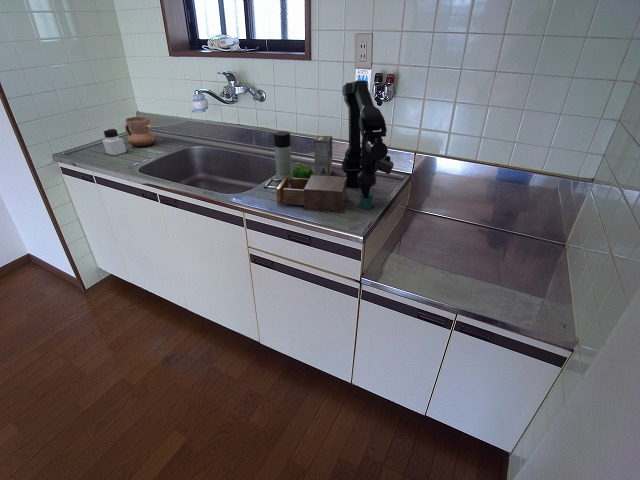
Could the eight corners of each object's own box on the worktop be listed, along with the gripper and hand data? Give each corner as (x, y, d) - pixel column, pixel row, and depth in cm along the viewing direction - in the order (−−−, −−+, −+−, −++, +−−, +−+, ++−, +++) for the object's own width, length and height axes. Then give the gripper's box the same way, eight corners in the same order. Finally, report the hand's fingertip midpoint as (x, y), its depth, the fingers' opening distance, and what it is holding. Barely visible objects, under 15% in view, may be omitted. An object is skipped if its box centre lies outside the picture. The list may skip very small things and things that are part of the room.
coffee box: (318, 170, 169) (318, 135, 161) (332, 171, 168) (332, 135, 160) (314, 177, 161) (313, 140, 153) (328, 178, 160) (329, 141, 152)
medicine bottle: (126, 152, 194) (120, 129, 188) (114, 155, 189) (107, 132, 182) (118, 150, 197) (112, 127, 191) (106, 153, 192) (99, 130, 186)
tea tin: (360, 202, 139) (360, 190, 136) (372, 203, 138) (373, 191, 135) (358, 208, 135) (359, 195, 132) (372, 209, 134) (373, 196, 131)
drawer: (262, 203, 136) (261, 187, 133) (272, 190, 147) (271, 175, 144) (310, 207, 133) (310, 191, 130) (317, 193, 144) (317, 178, 141)
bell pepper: (316, 184, 155) (316, 161, 150) (308, 191, 148) (307, 167, 143) (298, 181, 158) (297, 158, 153) (289, 188, 151) (288, 164, 146)
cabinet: (304, 209, 134) (303, 189, 130) (311, 194, 146) (311, 174, 142) (341, 212, 132) (342, 191, 128) (346, 196, 144) (346, 177, 139)
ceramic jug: (165, 142, 208) (159, 116, 201) (145, 150, 197) (138, 122, 190) (140, 139, 214) (134, 114, 207) (120, 146, 203) (112, 119, 196)
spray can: (295, 178, 161) (293, 131, 150) (287, 183, 155) (284, 136, 145) (281, 175, 163) (278, 130, 153) (273, 181, 158) (270, 134, 148)
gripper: (393, 161, 117) (388, 205, 125) (393, 144, 133) (389, 184, 141) (358, 159, 118) (355, 203, 126) (362, 142, 134) (360, 183, 142)
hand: (366, 193), depth 134 cm, fingers open, 9 cm apart
